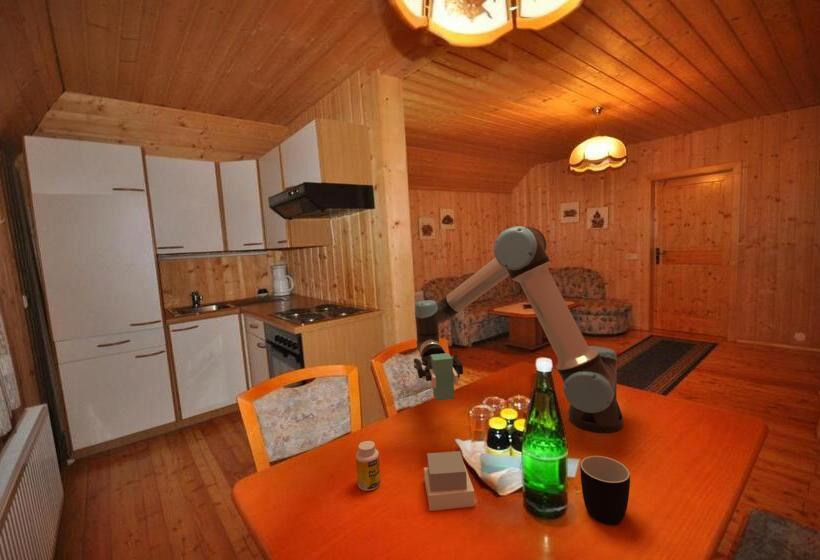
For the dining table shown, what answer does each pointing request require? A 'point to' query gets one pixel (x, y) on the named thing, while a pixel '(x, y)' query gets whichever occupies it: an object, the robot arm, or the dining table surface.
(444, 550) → the dining table surface
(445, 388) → the teal brick
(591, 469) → the mug
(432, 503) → the base brick
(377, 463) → the supplement bottle
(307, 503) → the dining table surface
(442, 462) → the grey brick
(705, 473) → the dining table surface
